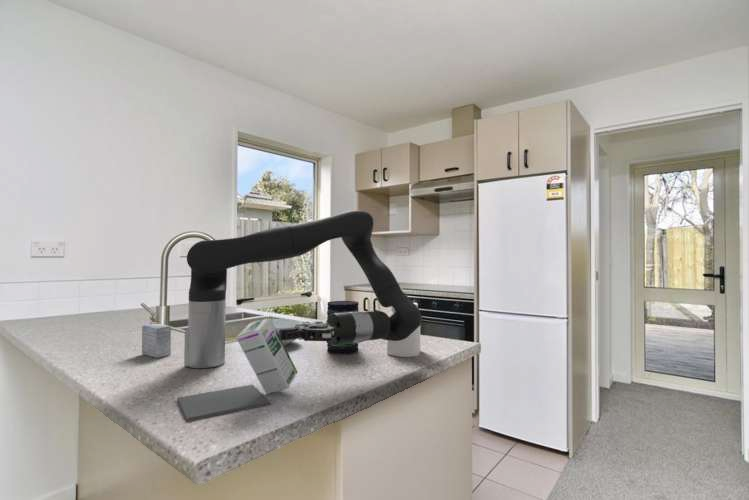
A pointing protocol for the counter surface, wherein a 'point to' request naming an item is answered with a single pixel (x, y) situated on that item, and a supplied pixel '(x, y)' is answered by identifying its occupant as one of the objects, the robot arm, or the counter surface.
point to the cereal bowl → (285, 326)
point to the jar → (405, 343)
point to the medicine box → (156, 340)
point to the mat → (221, 402)
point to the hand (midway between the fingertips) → (280, 334)
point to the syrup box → (267, 355)
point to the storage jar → (341, 308)
